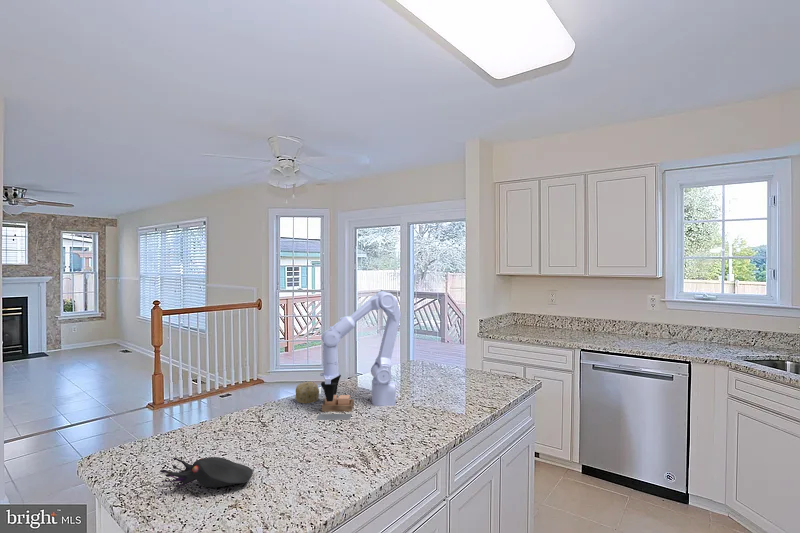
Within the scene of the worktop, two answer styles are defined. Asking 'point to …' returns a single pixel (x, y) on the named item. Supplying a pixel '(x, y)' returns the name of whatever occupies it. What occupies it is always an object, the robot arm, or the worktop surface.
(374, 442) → the worktop surface
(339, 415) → the slate board
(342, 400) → the peach cube
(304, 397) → the coral
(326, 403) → the tan cube
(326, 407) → the walnut bin
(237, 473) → the toy
